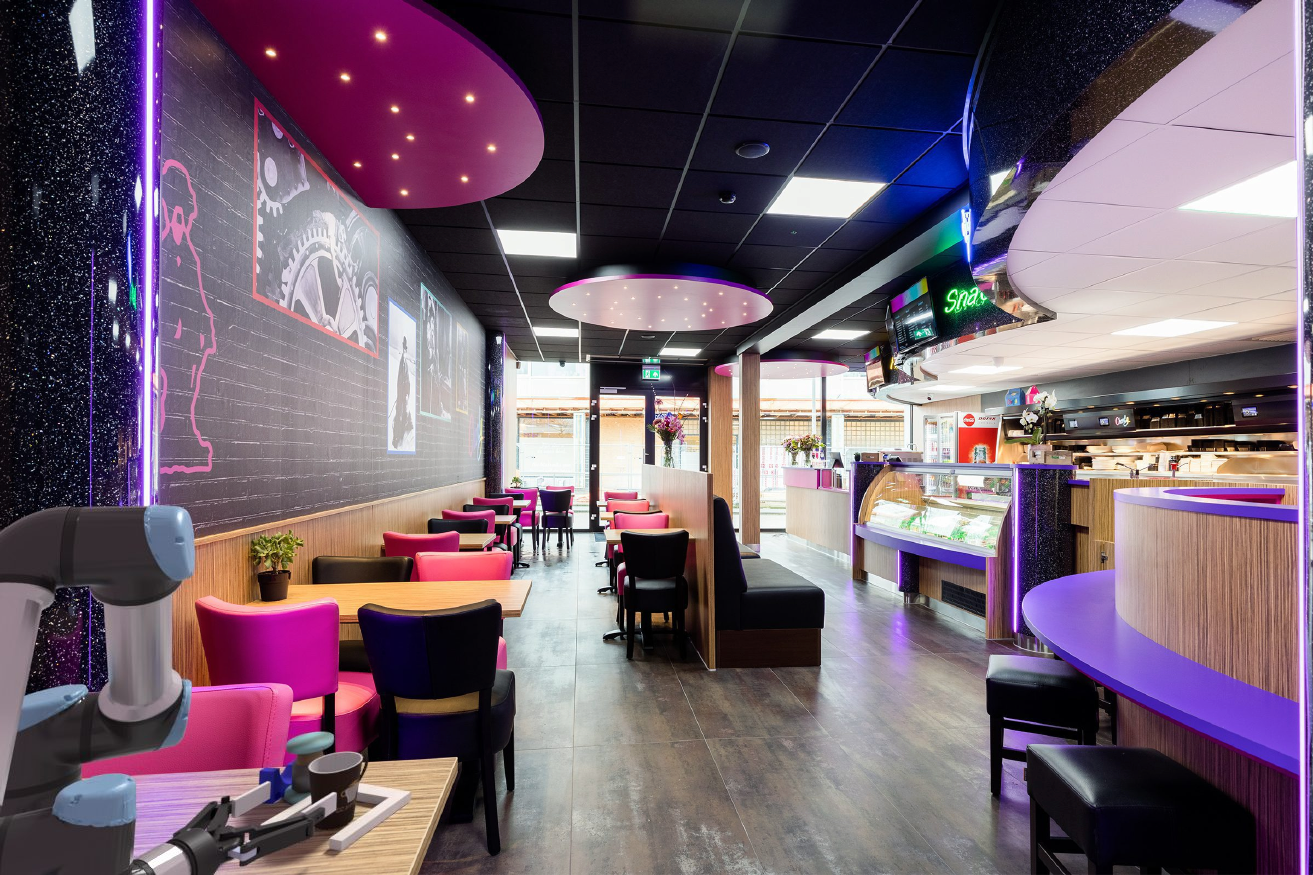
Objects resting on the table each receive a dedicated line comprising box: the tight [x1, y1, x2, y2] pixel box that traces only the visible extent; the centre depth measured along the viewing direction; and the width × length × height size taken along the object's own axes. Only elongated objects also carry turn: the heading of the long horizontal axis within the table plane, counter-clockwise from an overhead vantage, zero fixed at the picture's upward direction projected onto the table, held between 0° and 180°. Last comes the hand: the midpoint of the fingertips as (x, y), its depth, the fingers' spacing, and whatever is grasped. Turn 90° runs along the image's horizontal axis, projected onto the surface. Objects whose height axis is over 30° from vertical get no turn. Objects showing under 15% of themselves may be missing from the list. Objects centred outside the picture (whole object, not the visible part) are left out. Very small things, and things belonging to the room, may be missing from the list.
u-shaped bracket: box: [259, 782, 412, 852], centre depth 113 cm, size 17×17×2 cm
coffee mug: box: [308, 751, 369, 831], centre depth 113 cm, size 12×9×10 cm
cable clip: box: [258, 756, 297, 805], centre depth 123 cm, size 12×4×6 cm, turn 173°
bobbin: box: [283, 731, 335, 805], centre depth 121 cm, size 8×8×10 cm
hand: (301, 795), depth 105 cm, fingers open, 13 cm apart
